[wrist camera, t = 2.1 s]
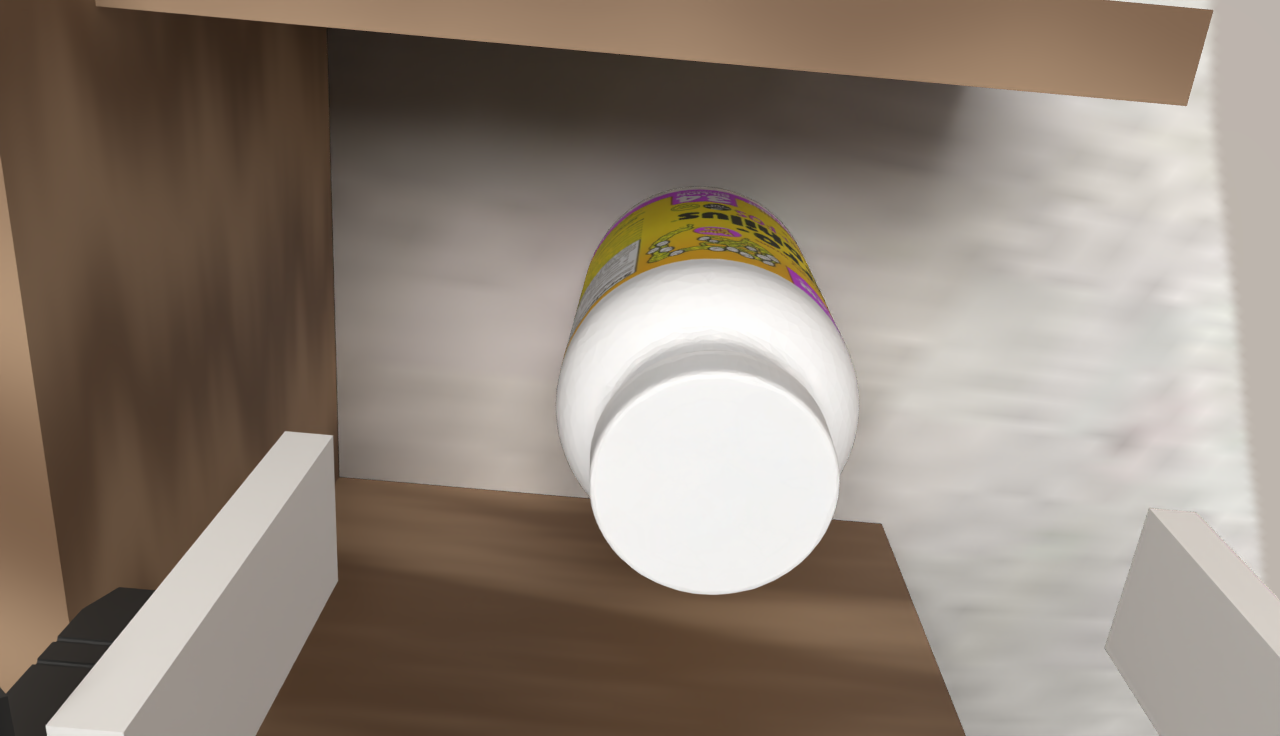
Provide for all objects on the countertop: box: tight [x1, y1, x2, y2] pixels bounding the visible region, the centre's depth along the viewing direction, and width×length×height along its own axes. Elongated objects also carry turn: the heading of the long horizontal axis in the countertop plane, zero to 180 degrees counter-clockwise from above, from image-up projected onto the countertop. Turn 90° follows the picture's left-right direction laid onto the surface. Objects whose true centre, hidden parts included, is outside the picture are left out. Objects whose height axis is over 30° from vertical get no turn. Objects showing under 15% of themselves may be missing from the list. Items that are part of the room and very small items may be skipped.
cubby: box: [0, 0, 1213, 736], centre depth 23 cm, size 18×20×15 cm
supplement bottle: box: [556, 187, 859, 595], centre depth 24 cm, size 7×7×13 cm
